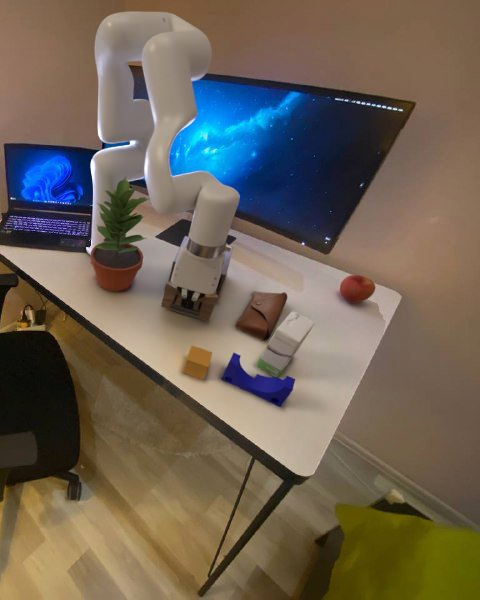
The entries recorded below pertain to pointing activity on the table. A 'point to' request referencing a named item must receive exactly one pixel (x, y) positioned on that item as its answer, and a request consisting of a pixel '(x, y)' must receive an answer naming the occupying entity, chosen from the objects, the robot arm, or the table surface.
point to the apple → (356, 288)
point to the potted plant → (118, 241)
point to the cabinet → (224, 270)
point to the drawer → (173, 301)
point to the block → (197, 362)
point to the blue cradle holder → (258, 382)
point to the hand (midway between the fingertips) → (186, 308)
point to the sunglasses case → (262, 314)
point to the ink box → (285, 343)
